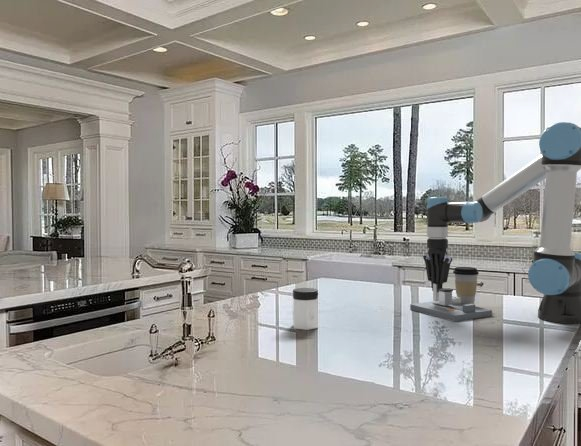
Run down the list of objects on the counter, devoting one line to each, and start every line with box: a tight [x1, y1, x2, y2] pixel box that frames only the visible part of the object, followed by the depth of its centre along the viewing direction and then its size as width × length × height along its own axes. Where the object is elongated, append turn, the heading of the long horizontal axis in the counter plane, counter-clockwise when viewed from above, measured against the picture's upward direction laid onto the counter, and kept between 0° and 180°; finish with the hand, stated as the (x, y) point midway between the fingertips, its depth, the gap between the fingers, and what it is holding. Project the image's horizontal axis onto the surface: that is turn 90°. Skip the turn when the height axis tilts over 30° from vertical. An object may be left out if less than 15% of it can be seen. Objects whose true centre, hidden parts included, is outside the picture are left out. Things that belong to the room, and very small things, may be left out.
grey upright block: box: [438, 287, 454, 306], centre depth 181 cm, size 3×4×6 cm
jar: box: [292, 287, 319, 331], centre depth 158 cm, size 9×8×12 cm
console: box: [409, 295, 493, 322], centre depth 179 cm, size 22×18×5 cm
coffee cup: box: [452, 266, 479, 304], centre depth 188 cm, size 9×9×15 cm
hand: (437, 300), depth 184 cm, fingers closed
